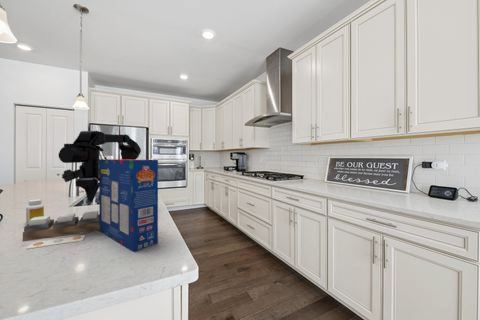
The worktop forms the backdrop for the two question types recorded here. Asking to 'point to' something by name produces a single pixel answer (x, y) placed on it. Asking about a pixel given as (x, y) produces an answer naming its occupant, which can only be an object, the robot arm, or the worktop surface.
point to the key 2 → (90, 215)
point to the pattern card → (56, 242)
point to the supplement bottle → (34, 209)
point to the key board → (60, 228)
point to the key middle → (66, 217)
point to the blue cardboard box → (129, 202)
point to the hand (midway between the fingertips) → (90, 201)
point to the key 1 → (39, 220)
